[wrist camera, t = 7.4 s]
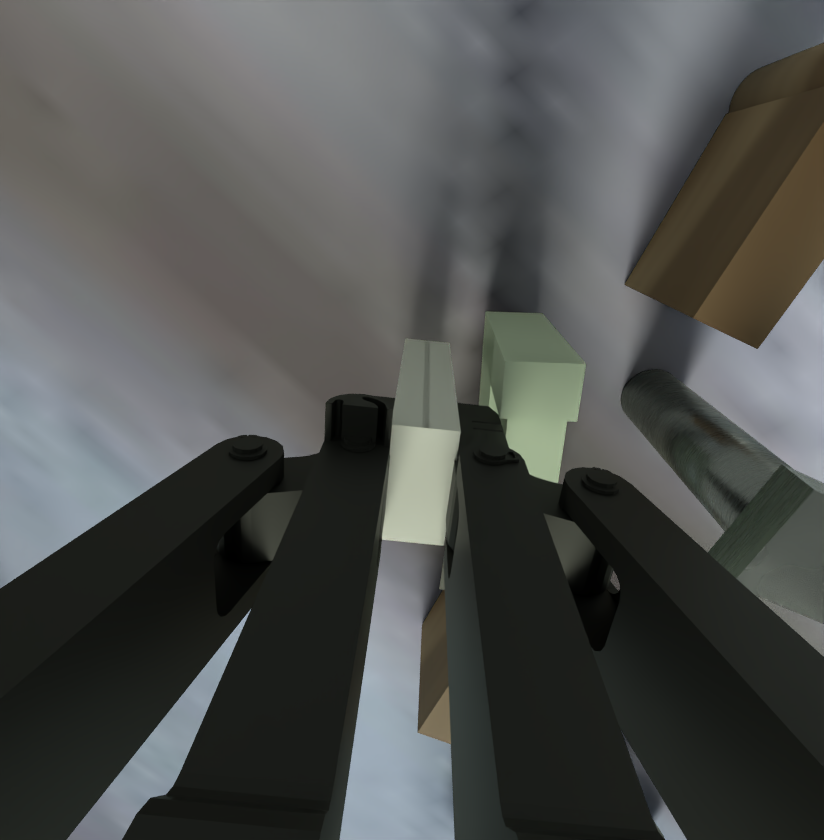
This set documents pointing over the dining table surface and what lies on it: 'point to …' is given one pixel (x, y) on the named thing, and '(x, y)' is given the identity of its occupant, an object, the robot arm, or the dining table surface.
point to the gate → (531, 386)
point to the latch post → (738, 492)
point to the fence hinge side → (434, 675)
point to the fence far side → (748, 208)
